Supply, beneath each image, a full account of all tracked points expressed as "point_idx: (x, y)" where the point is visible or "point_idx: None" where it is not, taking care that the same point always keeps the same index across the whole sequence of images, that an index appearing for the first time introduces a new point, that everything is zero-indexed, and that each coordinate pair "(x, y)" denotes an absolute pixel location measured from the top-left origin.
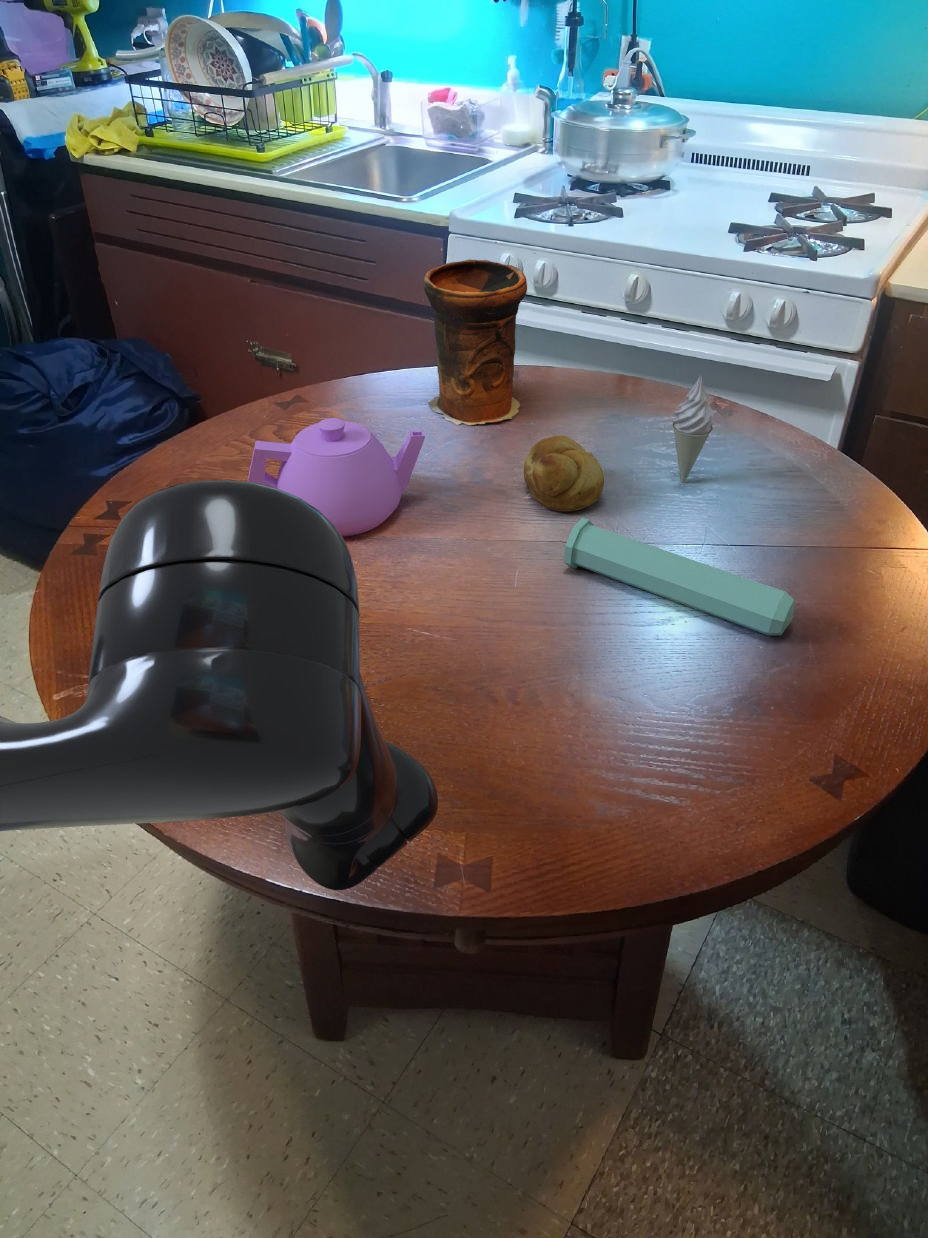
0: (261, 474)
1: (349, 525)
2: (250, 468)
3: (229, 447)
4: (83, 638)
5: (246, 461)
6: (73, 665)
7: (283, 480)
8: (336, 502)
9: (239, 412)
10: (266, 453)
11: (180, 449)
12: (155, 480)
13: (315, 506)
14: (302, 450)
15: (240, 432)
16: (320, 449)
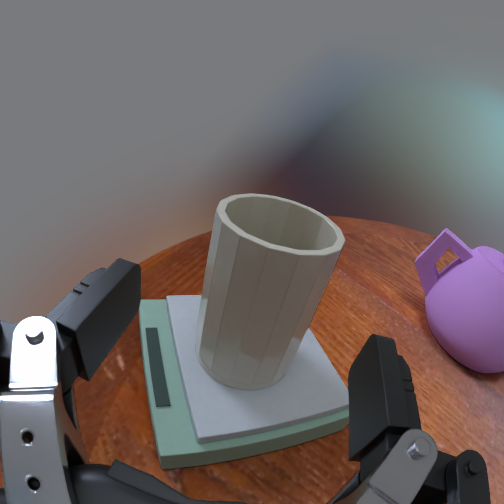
0: (433, 260)
1: (482, 361)
2: (427, 249)
3: (398, 240)
4: (160, 290)
5: (406, 254)
6: None
7: (450, 277)
8: (491, 330)
9: (411, 229)
10: (452, 242)
11: (367, 223)
12: (339, 227)
13: (470, 321)
14: (487, 259)
15: (408, 238)
16: (502, 268)
